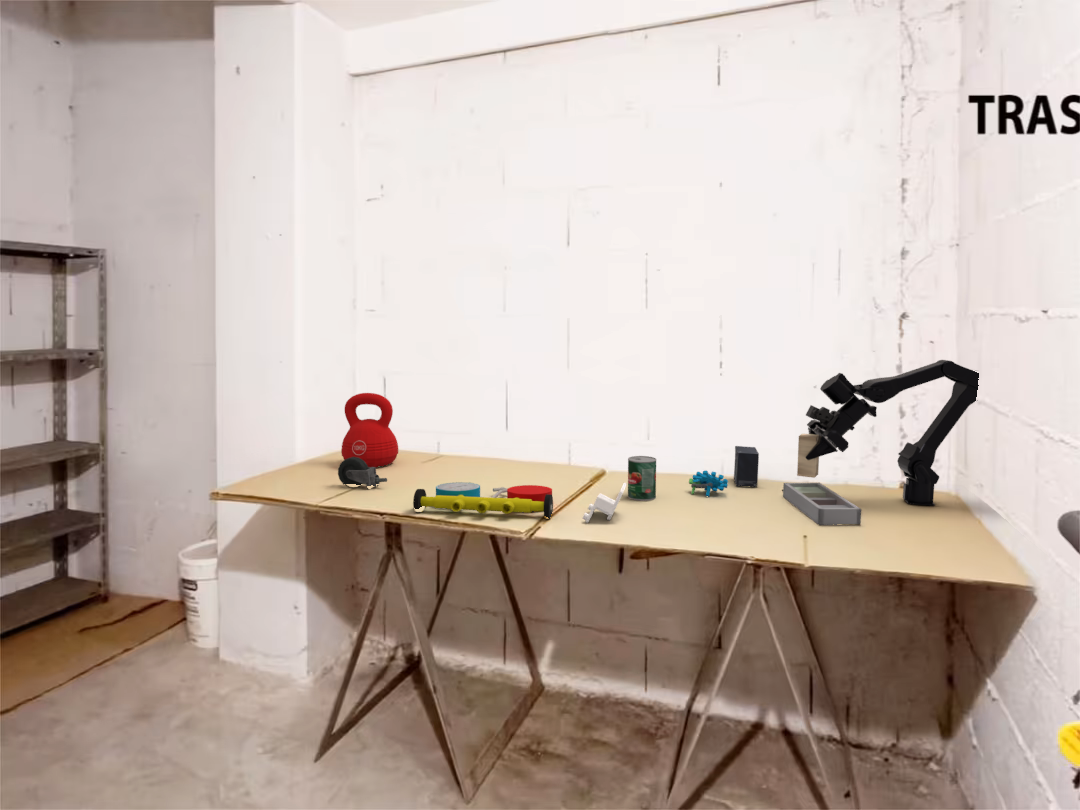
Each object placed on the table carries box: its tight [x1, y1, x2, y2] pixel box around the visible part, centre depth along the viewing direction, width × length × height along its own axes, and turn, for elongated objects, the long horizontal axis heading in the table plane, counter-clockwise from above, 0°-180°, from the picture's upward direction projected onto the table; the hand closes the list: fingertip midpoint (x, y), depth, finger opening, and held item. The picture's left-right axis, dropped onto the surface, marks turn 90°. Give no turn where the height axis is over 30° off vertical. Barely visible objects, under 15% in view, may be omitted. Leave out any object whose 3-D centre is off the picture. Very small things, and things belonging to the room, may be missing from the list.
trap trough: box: [782, 482, 862, 526], centre depth 180 cm, size 26×10×4 cm, turn 179°
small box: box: [733, 445, 760, 488], centre depth 208 cm, size 11×6×10 cm, turn 168°
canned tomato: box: [627, 455, 657, 502], centre depth 193 cm, size 8×8×11 cm
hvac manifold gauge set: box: [412, 481, 554, 520], centre depth 186 cm, size 36×6×25 cm
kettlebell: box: [341, 392, 399, 468], centre depth 236 cm, size 19×19×25 cm
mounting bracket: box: [582, 482, 628, 524], centre depth 174 cm, size 12×6×11 cm, turn 167°
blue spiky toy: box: [688, 470, 729, 498], centre depth 195 cm, size 11×6×10 cm
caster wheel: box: [337, 457, 388, 487], centre depth 206 cm, size 6×10×15 cm
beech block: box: [796, 433, 820, 479], centre depth 187 cm, size 4×4×11 cm
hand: (803, 456), depth 188 cm, fingers closed on beech block, 6 cm apart
